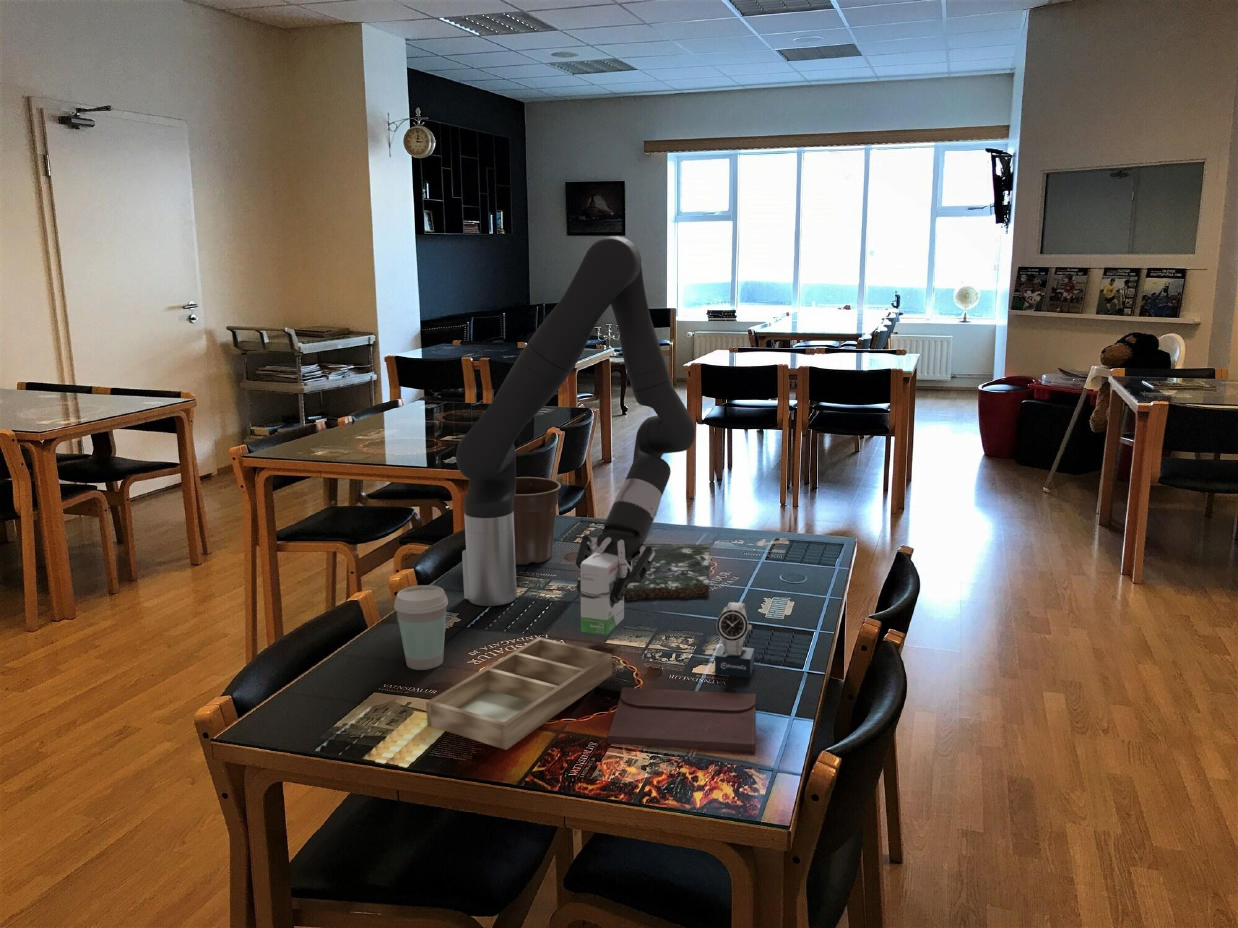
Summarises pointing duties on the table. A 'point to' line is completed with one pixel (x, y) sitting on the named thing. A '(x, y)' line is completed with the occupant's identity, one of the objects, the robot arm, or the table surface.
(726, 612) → the watch
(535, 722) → the compartment tray
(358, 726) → the table surface
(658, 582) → the topographical map
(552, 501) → the plant pot
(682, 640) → the table surface
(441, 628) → the coffee cup
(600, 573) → the ink box
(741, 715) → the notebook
